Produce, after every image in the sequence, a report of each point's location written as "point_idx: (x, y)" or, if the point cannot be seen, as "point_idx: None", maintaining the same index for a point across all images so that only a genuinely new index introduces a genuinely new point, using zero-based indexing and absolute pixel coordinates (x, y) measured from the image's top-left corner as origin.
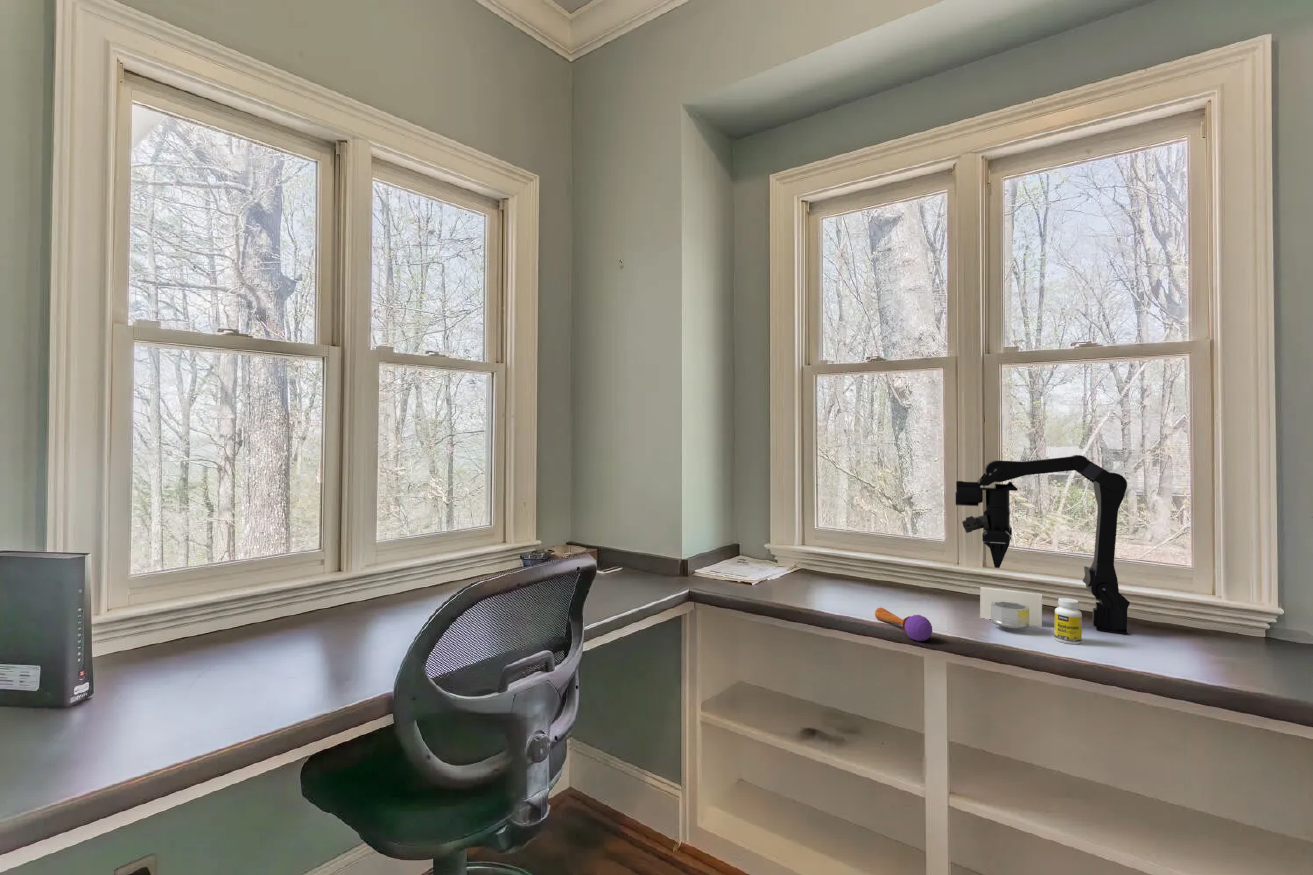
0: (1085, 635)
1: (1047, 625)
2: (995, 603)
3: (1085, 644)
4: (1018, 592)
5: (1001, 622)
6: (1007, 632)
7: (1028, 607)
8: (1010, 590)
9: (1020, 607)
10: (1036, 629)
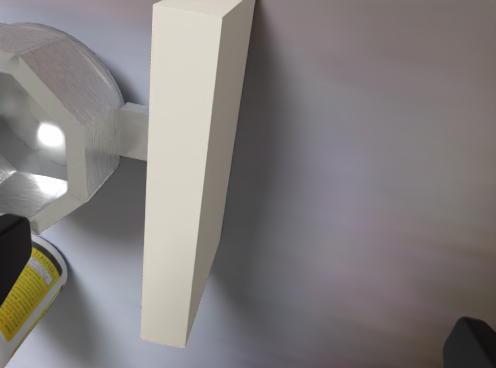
0: None
1: (222, 257)
2: (17, 73)
3: None
4: (149, 248)
5: None
6: None
7: None
8: (188, 216)
9: (57, 196)
10: (132, 205)
